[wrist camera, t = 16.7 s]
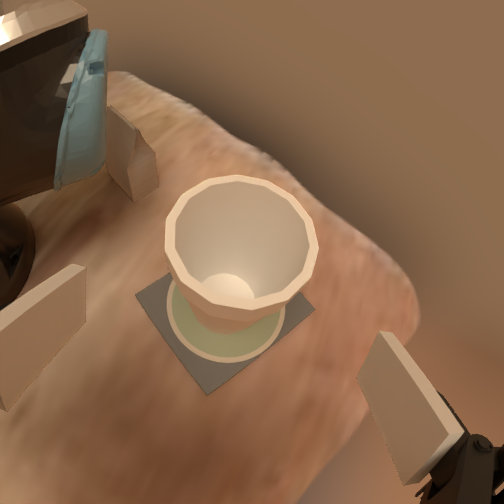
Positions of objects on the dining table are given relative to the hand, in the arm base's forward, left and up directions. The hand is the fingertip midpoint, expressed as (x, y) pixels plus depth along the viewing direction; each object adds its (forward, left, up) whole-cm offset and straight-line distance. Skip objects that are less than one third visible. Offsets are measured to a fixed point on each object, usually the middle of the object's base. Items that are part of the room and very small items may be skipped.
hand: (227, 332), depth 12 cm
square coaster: (-4, +5, -17) cm, 18 cm away
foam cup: (-5, +5, -16) cm, 18 cm away
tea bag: (-24, +5, -17) cm, 30 cm away
